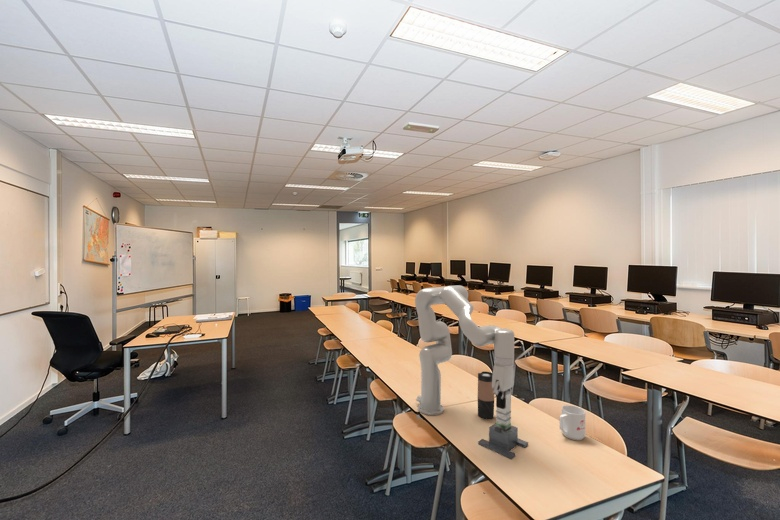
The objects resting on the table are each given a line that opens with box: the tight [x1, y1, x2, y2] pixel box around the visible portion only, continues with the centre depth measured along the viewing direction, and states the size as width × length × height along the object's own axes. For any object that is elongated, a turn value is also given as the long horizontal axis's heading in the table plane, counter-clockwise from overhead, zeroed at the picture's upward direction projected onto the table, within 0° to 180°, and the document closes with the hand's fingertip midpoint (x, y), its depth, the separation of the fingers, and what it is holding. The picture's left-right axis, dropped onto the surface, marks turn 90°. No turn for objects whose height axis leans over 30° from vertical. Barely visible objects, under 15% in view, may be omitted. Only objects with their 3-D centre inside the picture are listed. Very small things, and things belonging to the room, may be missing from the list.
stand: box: [478, 422, 529, 460], centre depth 136 cm, size 14×14×8 cm
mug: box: [558, 404, 586, 441], centre depth 143 cm, size 12×9×11 cm
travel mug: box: [477, 371, 495, 421], centre depth 161 cm, size 8×8×20 cm
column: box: [495, 388, 512, 432], centre depth 136 cm, size 4×4×16 cm
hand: (503, 405), depth 136 cm, fingers open, 4 cm apart
